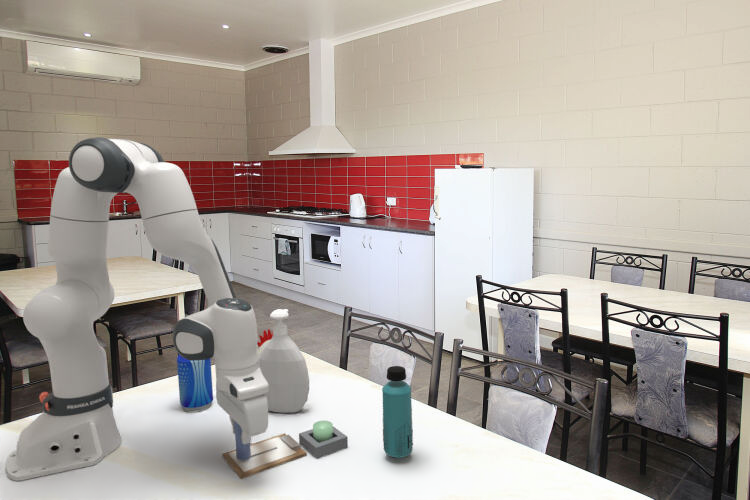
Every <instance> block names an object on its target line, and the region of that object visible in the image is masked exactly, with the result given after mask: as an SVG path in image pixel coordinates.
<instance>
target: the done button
mask: <svg viewBox="0 0 750 500" xmlns="http://www.w3.org/2000/svg"><path fill="white" fill-rule="evenodd" d="M333 427H334V426H333V423H332V421H329V420H319V421H316V422H314V423H313V425H312V429H313V439H315V440H316V441H317V442H318V443H320V442H323V441H326V440H328V439H331V438H333Z"/></svg>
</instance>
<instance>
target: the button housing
mask: <svg viewBox="0 0 750 500" xmlns="http://www.w3.org/2000/svg"><path fill="white" fill-rule="evenodd" d="M298 438H299V439H298V441H299V442H298V443H299V444H300V445H301V447H302V448H304V449H305V451H306V452H308V453H309V454H310V455H311V456H313V457H314V458H315V459H319V458H322V457H324V456H328V455H330V454H333V453H336V452H338V451H341V450H343V449H346V448H347V449H348V447H349V446H348V445H349V444H348V443H349V441H348V440H349V439H348V436H347V435H346V434H344V433H343V432H342V431H340V430H338V429H337V428H336V427H335V426H333V438H331V439H328V440H326V441H323V442H320V443H318V442H317V441H316V440H315V439H313V428H311V429H308V430H305V431H302V432H299V433H298Z"/></svg>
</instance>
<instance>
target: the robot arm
mask: <svg viewBox="0 0 750 500" xmlns="http://www.w3.org/2000/svg"><path fill="white" fill-rule="evenodd" d="M117 194H124V195H127V194H129V195H131V196H132V197H134V199H135V200H136V202H137V204H138V208H139V212H140V216H141V220H142V224H143V230H144V233H145V236H146V239H147V240H148V243H149V244H150V245H151V248H152V249H153V250H154V251H156V252H157V253H158V254H159V255H162V256H164V257H167V258H169V259H172V260H176V261H180V262H181V263H182V262H183V263H185V264H187V265H189V266H190V267H192V269H193V270H194V271H195V272H196V274H197V276H198V278H199V281H200V284H201V286H202V287H201V288H202V290H203V292H204V295H205V298H206V299H207V303H208V305H207V308H205V309H203V310H201V311H198V312H195V313H191V314H189V315H187V316H185V317H183V318H181V319H179V320H178V321H177V322H176V323H175V324H174V327H173V329H172V333H171V334H172V335H171V338H172V339H171V341H172V343H173V346H174V350H175V351H176V352H177V354H178V355H180V356H182V357H183V358H185V359H187V360H190V361H198V360H207V359H211V360H213V361H214V363H215V365H214V367H215V368H214V369H215V380H216V381H215V384H216V385H215V391H216V392H215V395H216V397H215V399H216V401H217V404H218V406H219V407H220V409H222V410H223V411H224V412H225V413H226V414H227V415H228V416H229V420H230V423H231V426H232V434H233V435H235V428H234V421H235V422H236V423H237V424H238V425H239V426H240V427H241V429H242V434H240V438H241V439H240V440H241V442H242V443H243V444H248V443H250V444H251V442H252V437H255V436H258V435H262V434H264V433H266V432H267V430H268V427H269V411H268V401H267V397H266V395H265V393H268V392H269V385H268V382H267V381H266V379H265V378H264V376H263V374H262V372H261V369H260V367H259V357H258V355H257V351H256V347H257V343H258V342H259V335H258V326H257V325H258V324H257V318H256V313H255V311H254V307H253V306H252V304H251V303H250V302H249V301H247V300H246V299H243V298H242V299H241V298H238V297H236V294H235V291H234V288H233V285H232V283H231V280H230V278H229V275H228V273H227V270H226V268H225V264H224V262H223V259H222V257H221V254H220V252H219V250H218V247H217V245H216V243H215V242H214V240H213V239H212V238H210V236H209V235H208V234H207V232H206V229H205V227H204V225H203V223H202V221H201V218H200V215H199V211H198V208H197V203H196V200H195V197H194V194H193V191H192V188H191V186H190V184H189V182H188V179H187V177H186V175H185V173H184V170H182V169H181V168H180V167H179V166H178V165H177V164H174V163H170V162H165V160H164V158H163V157H162V155H161V154H160V153H159V152H158V151H157V150H156V149H155V148H154V147H152V146H150V145H149V144H146V143H142V142H136V141H133V140H130V139H124V138H106V137H101V136H98V137H90V138H86V139H82V140H81V141H79V142H77V143H76V144H75V145H74V146H73V147H72V149H71V150H70V153H69V157H68V167H66V168H64V169H62V170H61V171H60V172H59V174H58V177H57V179H56V183H55V186H54V190H53V196H52V201H51V206H50V216H49V228H48V229H49V230H48V244H47V251H48V254H49V256H51V258H52V259H53V262H54V265H55V270H56V277H57V279H56V282H55V284H53V285H51V286H48V287H45V288H44V289H42V290H40V291H39V292H38V293H36V294H35V295H34V296H33V297H32V298H31V299H30V300H29V301H28V302H27V303H26V305H25V307H24V309H23V312H22V313H23V314H22V319H23V323H24V325H25V327H26V330H27V331H28V332H29V333H30V334H31V335H32V336H34V337H35V338H37V339H38V340H39V341H40V343H41V345H42V347H43V350H44V351H45V354H46V357H47V361H48V365H49V370H50V371H49V372H50V380H51V387H52V392H51V393H49V391H43V392H41V393H40V395H39V397H38V398H39V402H40V403H42V408H43V412H42V413H41V414H39V415H38V416H37V417H36V418H35V419H34V420H33V421H32V422H30V423H29V424H28V425H27V426H26V427H24V428H23V429H22V431H21V433H20V434H19V436H18V440H17V445H16V449H15V450H13V451H12V452H11V453H10V454H9V455H8V456H7V458H6V461H5V473H6V476H7V477H8V478H9V479H10V480H14V481H17V482H18V481H24V480H25V481H26V480H29V479H33V478H38V477H39V478H40V477H43V476H47V475H54V474H57V473H62V472H67V471H70V470H76V469H80V468H81V469H82V468H85V467H90V466H95V465H97V464H99V463H100V462H101V461H102V459H104V458H105V456H107V455H108V454H110V453H112V452H114V451H115V450H116V449H117V448H118V447H119V446H120V445H121V443H122V442H123V437H122V434H120V431H119V428H118V426H117V423H116V417H115V414H114V409H113V407H114V395H113V394H114V393H113V387H112V384H111V382H110V381H109V373H108V372H109V371H108V360H107V352H106V349H105V348H104V347H103V346H101V345H100V343H99V342H98V339H97V337H96V333H95V330H94V322H95V321H97V320H98V319H101V317H103V316H105V314H106V313H107V311H108V310H109V309H110V307H111V306H112V305H113V303H114V299H115V289H114V286H113V284H112V283H111V281H110V276H109V268H108V262H107V247H108V234H109V233H108V232H109V223H110V222H109V220H110V208H111V207H110V206H111V203H112V200H113V198H114V197H115V196H116V195H117Z"/></svg>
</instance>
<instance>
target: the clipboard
mask: <svg viewBox="0 0 750 500" xmlns="http://www.w3.org/2000/svg"><path fill="white" fill-rule="evenodd" d="M250 450H251V456H250V457H249V458H248V459H245V460H239V459H237V458H236V448H234V449H232V450H230V451H229V450H228V451H226V452H223V453H221V454H222V456H221V457H223V458H224V460H225V461H226V462H227V464H229V466H230V467H231V468H232V469H233V471H234V472H235V473H236V474H237V475H238V477H239V478H240V479H244V478H245V479H246V478H248V477H250V476H253V475H255V474H256V475H257V474H258V473H261V472H264V471H267V470H270V469H273V468H275V467H278V466H281V465H283V464H287V463H290V462H293V461H294V460H297V459H300V458H303V457H307V456H308V453H307V452H308V451H306V450H304V449H303V447H302V446H301V445H300V444H299V442H298V441H297V440H295V439H294V438H293V437H292V436H291V435H290V434H286V433H281V434H279V435H276V436H272V437H270V438H269V437H268V438H266V439H263V440H260V441H257V442H253V443H250Z"/></svg>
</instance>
